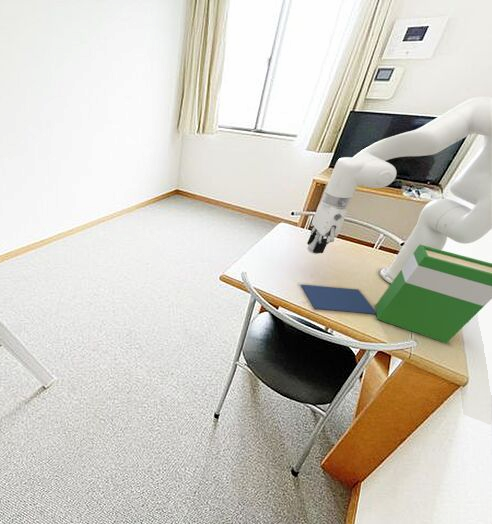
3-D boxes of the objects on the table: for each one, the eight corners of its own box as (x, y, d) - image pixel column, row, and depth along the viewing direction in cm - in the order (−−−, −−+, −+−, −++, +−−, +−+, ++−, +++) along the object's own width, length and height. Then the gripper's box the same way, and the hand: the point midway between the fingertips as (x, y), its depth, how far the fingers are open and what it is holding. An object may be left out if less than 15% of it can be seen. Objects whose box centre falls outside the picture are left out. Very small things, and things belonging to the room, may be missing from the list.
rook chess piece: (307, 252, 104) (315, 232, 99) (306, 246, 107) (314, 226, 103) (321, 255, 103) (330, 235, 98) (319, 249, 106) (328, 229, 102)
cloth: (357, 290, 107) (358, 289, 107) (377, 314, 97) (377, 313, 97) (301, 285, 107) (301, 284, 107) (314, 308, 98) (314, 307, 97)
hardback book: (440, 327, 94) (499, 265, 80) (446, 343, 88) (510, 279, 75) (375, 305, 100) (419, 244, 86) (377, 319, 95) (424, 256, 81)
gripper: (362, 211, 87) (336, 263, 98) (336, 190, 101) (316, 237, 111) (335, 210, 87) (312, 261, 98) (313, 188, 101) (295, 235, 112)
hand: (314, 248), depth 104 cm, fingers closed on rook chess piece, 4 cm apart
